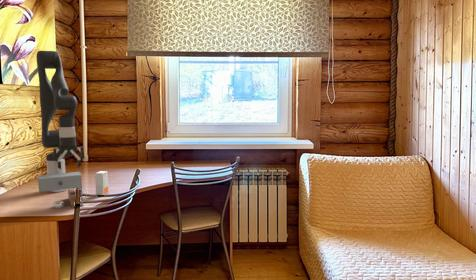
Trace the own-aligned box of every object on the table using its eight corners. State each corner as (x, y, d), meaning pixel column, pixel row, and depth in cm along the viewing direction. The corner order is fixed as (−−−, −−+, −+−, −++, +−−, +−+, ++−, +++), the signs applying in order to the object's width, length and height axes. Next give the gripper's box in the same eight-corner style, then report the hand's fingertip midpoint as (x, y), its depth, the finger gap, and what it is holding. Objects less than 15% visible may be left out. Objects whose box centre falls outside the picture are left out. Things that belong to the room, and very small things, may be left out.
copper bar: (68, 198, 218) (67, 187, 217) (73, 198, 219) (72, 186, 218) (71, 207, 201) (70, 194, 201) (76, 206, 202) (75, 194, 202)
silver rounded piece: (52, 206, 203) (52, 202, 203) (64, 204, 206) (63, 200, 205) (53, 209, 199) (53, 204, 199) (64, 207, 201) (64, 203, 201)
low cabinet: (40, 206, 203) (37, 175, 201) (81, 201, 211) (79, 171, 209) (40, 211, 194) (38, 179, 192) (83, 206, 202) (81, 175, 200)
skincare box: (103, 196, 221) (102, 173, 220) (95, 195, 222) (94, 173, 221) (109, 193, 227) (107, 171, 226) (101, 192, 228) (100, 170, 226)
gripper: (82, 134, 217) (83, 166, 219) (51, 136, 211) (53, 168, 213) (83, 135, 211) (85, 168, 212) (52, 137, 205) (54, 170, 206)
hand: (69, 168), depth 213 cm, fingers open, 8 cm apart
